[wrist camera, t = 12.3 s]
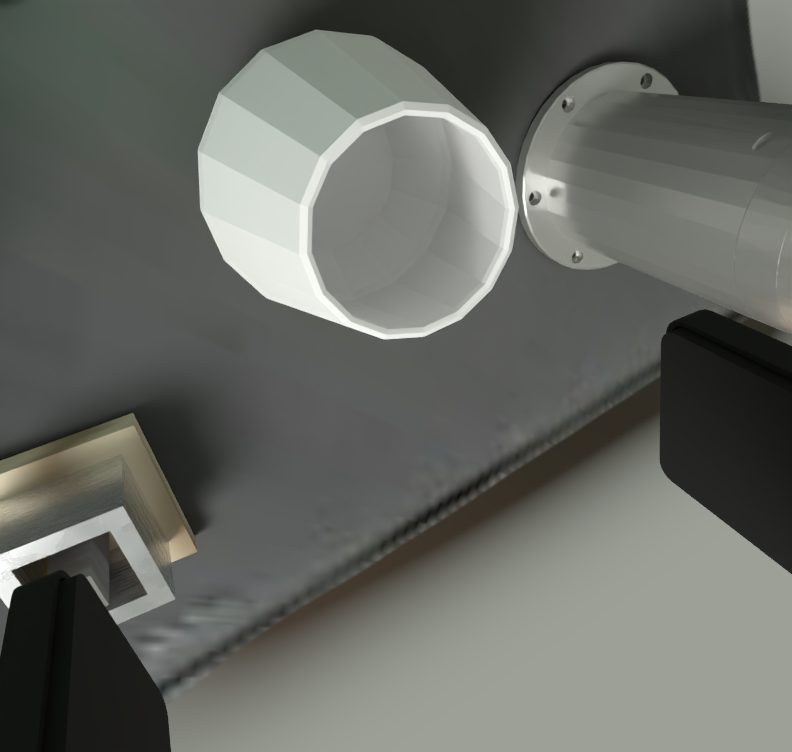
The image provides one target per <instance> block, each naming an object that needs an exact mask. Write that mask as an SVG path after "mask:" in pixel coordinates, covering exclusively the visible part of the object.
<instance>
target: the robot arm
mask: <svg viewBox="0 0 792 752" xmlns="http://www.w3.org/2000/svg"><path fill="white" fill-rule="evenodd" d="M562 103H563V104H562ZM515 186H516V195H517V200H518V205H519V209H518V212H519V216H520V220H521V223H522V225H523V227H524V229H525V231H526V233H527V236H528V237H529V238H530V240H531V241H532V242H533V244H534V245H535V246H536V248H537V249H538V250H540V251H541V252H542V253H543V254H544V255H546V256H547V257H548V258H550V259H552V260H554V261H556V262H558V263H560V264H562V265H564V266H567V267H570V268H573V269H584V270H593V269H599V268H605V267H608V266H610V265H613V264H616V263H618V262H620V263H623V264H625V265H627V266H630V267H632V268H634V269H637V270H639V271H641V272H644V273H646V274H649V275H651V276H653V277H656V278H658V279H660V280H663V281H665V282H667V283H670V284H672V285H675V286H677V287H679V288H682V289H684V290H686V291H689V292H691V293H693V294H696V295H698V296H701V297H703V298H705V299H708V300H710V301H712V302H715V303H717V304H719V305H722V306H724V307H727V308H729V309H731V310H734V311H736V312H738V313H741V314H743V315H746V316H748V317H750V318H753V319H755V320H758V321H760V322H763V323H765V324H768V325H770V326H773V327H775V328H777V329H780V330H782V331H785V332H788V333H791V334H792V105H789V104H777V103H765V102H753V101H741V100H729V99H718V98H706V97H694V96H682V95H679V93H678V91H677V90H676V89H675V87H674V86H673V85H672V84H671V82H670V81H669V80H668V79H667V78H666V77H665V76H664V75H662V74H661V73H659V72H658V71H657V70H655V69H654V68H651V67H648V66H646V65H643V64H641V63H632V62H606V63H602V64H599V65H595V66H592V67H589V68H587V69H585V70H583V71H581V72H579V73H578V74H576V75H574V76H572V77H571V78H570V79H569V80H567V81H566V82H565V83H564V84H562V85H561V86H560V87H559V88H558V89H556V91H555V92H554V93H553V94H552V95H551V96H550V98H549V99H548V100H547V101H546V102H545V103H544V104H543V106H542V107H541V109H540V111H539V112H538V114H537V115H536V117H535V119H534V120H533V122H532V123H531V126H530V128H529V130H528V133H527V135H526V137H525V140H524V142H523V145H522V149H521V153H520V156H519V160H518V164H517V174H516V184H515ZM529 196H530V197H529ZM660 396H661V397H660V398H661V399H660V464H661V467H662V469H663V471H664V473H665V474H666V476H667V477H668V478H669V479H670V480H671V481H672V482H673V483H675V484H676V485H677V486H679V487H680V488H681V489H683V490H684V491H685V492H686V493H688V494H689V495H690V496H691V497H693V498H694V499H696V500H697V501H698V502H699V503H700V504H702V505H703V506H704V507H706V508H707V509H708V510H710V511H711V512H712V513H713V514H715V515H716V516H717V517H719V518H720V519H721V520H723V521H724V522H725V523H726V524H728V525H729V526H730V527H731V528H733V529H734V530H735V531H737V532H738V533H739V534H741V535H742V536H743V537H745V538H746V539H747V540H748V541H750V542H751V543H752V544H753V545H755V546H756V547H758V548H759V549H760V550H761V551H763V552H764V553H765V554H766V555H768V556H769V557H770V558H772V559H773V560H774V561H775V562H777V563H778V564H779V565H781V566H782V567H783V568H785V569H786V570H787V571H788V572H790V573H791V574H792V346H790V345H788V344H786V343H783V342H781V341H779V340H776V339H774V338H772V337H770V336H767V335H765V334H763V333H761V332H758V331H756V330H754V329H751V328H749V327H747V326H744V325H742V324H740V323H738V322H735V321H733V320H731V319H729V318H726V317H724V316H722V315H720V314H717V313H715V312H713V311H710V310H706V309H705V310H699V311H697V312H694V313H692V314H689V315H687V316H684V317H682V318H679V319H677V320H675V321H673V322H671V323H670V324H669V326H668V328H667V331H666V334H665V335H664V336H663V338H662V341H661V395H660ZM0 752H171V747H170V735H169V725H168V715H167V710H166V706H165V702H164V699H163V697H162V694H161V693H160V691H159V689H158V687H157V686H156V684H155V683H154V681H153V680H152V678H151V677H150V675H149V673H148V672H147V670H146V669H145V667H144V666H143V664H142V663H141V661H140V660H139V658H138V656H137V655H136V653H135V652H134V650H133V649H132V647H131V646H130V644H129V643H128V641H127V639H126V638H125V636H124V635H123V633H122V632H121V630H120V629H119V627H118V626H117V624H116V623H115V621H114V619H113V618H112V616H111V615H110V613H109V612H108V610H107V609H106V607H105V606H104V604H103V602H102V601H101V599H100V598H99V596H98V595H97V593H96V592H95V590H94V589H93V587H92V585H91V584H90V582H89V581H88V579H87V578H86V577H85V576H84V575H83V574H77V575H75V576H72V577H70V576H69V575H68V574H67V573H66V572H65V571H63V570H58V571H55V572H53V573H50V574H48V575H46V576H43V577H41V578H38V579H36V580H33V581H31V582H28V583H26V584H23V585H21V586H18V587H17V588H15V589H14V590H13V593H12V596H11V601H10V607H9V612H8V618H7V623H6V629H5V634H4V640H3V645H2V650H1V656H0Z"/></svg>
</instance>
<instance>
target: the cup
mask: <svg viewBox="0 0 792 752" xmlns="http://www.w3.org/2000/svg"><path fill="white" fill-rule="evenodd" d="M198 167H199V189H200V210H201V212H202V214H203V216H204V218H205V220H206V222H207V225H208V227H209V229H210V231H211V233H212V235H213V237H214V240H215V242H216V244H217V246H218V248H219V250H220V252H221V254H222V257H223V259H224V260H225V261H226V262H227V263H228V264H229V265H230V266H231V267H232V268H233V269H235V270H236V271H237V272H238V273H239V274H240V275H241V276H242V277H243V278H244V279H246V280H247V281H248V282H249V283H250V284H251V285H252V286H253V287H254V288H255V289H257V290H258V291H259V292H260V293H261V294H262V295H263V296H265V297H266V298H268V299H270V300H273V301H276V302H279V303H282V304H285V305H288V306H290V307H293V308H296V309H299V310H302V311H305V312H307V313H310V314H313V315H316V316H319V317H322V318H324V319H327V320H330V321H333V322H336V323H339V324H342V325H344V326H347V327H350V328H353V329H356V330H359V331H362V332H364V333H367V334H370V335H373V336H376V337H379V338H381V339H397V338H412V337H424V336H426V335H429V334H431V333H433V332H435V331H437V330H439V329H441V328H443V327H446V326H448V325H450V324H452V323H454V322H456V321H458V320H460V319H462V318H463V317H464V316H465V315H466V314H467V313H468V312H469V311H470V310H471V309H472V308H473V307H474V306H475V305H476V304H477V303H478V302H479V301H480V300H481V299H482V298H483V297H484V296H485V295H486V294H487V293H488V292H489V291H491V290H492V288H493V286H494V284H495V282H496V280H497V278H498V276H499V274H500V272H501V270H502V269H503V267H504V265H505V263H506V261H507V259H508V257H509V255H510V253H511V251H512V247H513V240H514V234H515V228H516V221H517V215H518V209H519V205H518V200H517V195H516V190H515V184H514V179H513V174H512V169H511V164H510V162H509V161H508V159H507V158H506V156H505V154H504V153H503V151H502V150H501V148H500V147H499V145H498V144H497V142H496V141H495V139H494V138H493V136H492V135H491V133H490V132H489V130H488V129H487V127H486V126H485V125H484V124H483V123H482V122H480V121H479V120H478V119H477V118H476V117H475V116H474V115H473V114H472V113H471V112H470V111H469V110H468V109H467V108H466V107H465V106H464V105H463V104H462V103H461V102H460V101H458V100H457V99H456V98H455V97H454V96H453V95H452V94H451V93H450V92H449V91H448V90H447V89H446V88H445V87H444V86H443V85H442V84H441V83H440V82H439V81H438V80H436V79H435V78H434V77H433V76H432V75H431V74H430V73H429V72H428V71H427V70H426V69H425V68H424V67H423V66H421V65H419V64H418V63H416V62H415V61H413V60H411V59H410V58H408V57H407V56H405V55H403V54H402V53H400V52H399V51H397V50H395V49H394V48H392V47H390V46H389V45H387V44H386V43H384V42H382V41H381V40H379V39H378V38H376V37H373V36H369V35H360V34H351V33H342V32H333V31H324V30H314V31H311V32H308V33H305V34H303V35H300V36H297V37H295V38H292V39H289V40H286V41H284V42H281V43H278V44H275V45H273V46H270V47H267V48H264V49H262V50H260V51H259V52H258V53H257V54H256V56H255V57H254V58H253V59H252V60H251V61H250V62H249V63H248V64H247V65H246V66H245V67H244V68H243V69H242V70H241V71H240V72H239V73H238V74H237V75H236V76H235V77H234V78H233V79H232V80H231V81H230V82H229V83H228V84H227V85H226V86H225V87H224V88H223V89H222V90H221V91H220V92H219V94H218V97H217V99H216V102H215V105H214V108H213V110H212V113H211V116H210V118H209V121H208V124H207V126H206V129H205V132H204V135H203V137H202V140H201V143H200V145H199V148H198Z"/></svg>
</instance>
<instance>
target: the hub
mask: <svg viewBox="0 0 792 752" xmlns="http://www.w3.org/2000/svg"><path fill="white" fill-rule="evenodd" d="M109 531H111V533H112V535H113V536H114V538H115V540H116V541H117V543H118V545H119V547H117V548H115V549H112V550H110V551H109V605H107V606H105V607H106V609H107V610H108V612H109V613H110V615H111V616H112V618H113V619H114V621H115V623H116V624H119V623H122V622H124V621H126V620H129V619H131V618H133V617H136V616H138V615H140V614H142V613H145V612H147V611H149V610H152V609H154V608H156V607H159V606H161V605H163V604H165V603H168V602H170V601H172V600H175V590H174V581H173V573H172V564H171V556H170V547H169V541H168V539H167V537H166V536H165V534H164V532H163V530H162V528H161V526H160V524H159V523H158V521H157V519H156V517H155V515H154V513H153V511H152V509H151V508H150V506H149V504H148V502H147V500H146V498H145V496H144V495H143V493H142V491H141V489H140V487H139V485H138V483H137V481H136V480H135V478H134V476H133V474H132V472H131V470H130V468H129V467H128V465H127V463H126V461H125V459H124V457H123V455H122V454H120V455H118V456H115V457H112V458H110V459H107V460H104V461H102V462H99V463H96V464H94V465H91V466H88V467H86V468H83V469H80V470H78V471H75V472H73V473H70V474H67V475H65V476H62V477H59V478H57V479H54V480H51V481H49V482H46V483H43V484H41V485H38V486H35V487H33V488H30V489H28V490H25V491H22V492H20V493H17V494H14V495H12V496H9V497H6V498H4V499H1V500H0V598H1V599H2V600H3V602H4V603H5V604H6V605H7V607H8V608H9V607H10V601H11V596H12V593H13V590H14V589H15V588H17V587H18V586H21V585H23V584H26V583H28V582H31V581H33V580H36V579H38V578H41V577H43V571H44V563H45V557H46V556H49V555H51V554H54V553H56V552H59V551H61V550H64V549H66V548H69V547H71V546H74V545H76V544H79V543H81V542H84V541H86V540H89V539H91V538H94V537H96V536H99V535H101V534H104V533H106V532H109Z"/></svg>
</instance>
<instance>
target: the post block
mask: <svg viewBox="0 0 792 752" xmlns="http://www.w3.org/2000/svg"><path fill="white" fill-rule="evenodd" d="M120 454H122V455H123V457H124V459H125V461H126V463H127V465H128V467H129V468H130V470H131V472H132V474H133V476H134V478H135V480H136V481H137V483H138V485H139V487H140V489H141V491H142V493H143V495H144V496H145V498H146V500H147V502H148V504H149V506H150V508H151V509H152V511H153V513H154V515H155V517H156V519H157V521H158V523H159V524H160V526H161V528H162V530H163V532H164V534H165V536H166V537H167V539H168V541H169V547H170V556H171V562H173V561H176V560H178V559H181V558H183V557H185V556H188V555H190V554H193V553H195V552H197V546H196V541H195V536H194V534H193V532H192V530H191V528H190V526H189V524H188V522H187V520H186V518H185V516H184V514H183V512H182V510H181V508H180V506H179V504H178V502H177V500H176V498H175V496H174V494H173V492H172V490H171V488H170V486H169V484H168V482H167V480H166V478H165V476H164V474H163V472H162V470H161V468H160V466H159V464H158V462H157V460H156V458H155V456H154V454H153V452H152V450H151V448H150V446H149V444H148V442H147V440H146V438H145V436H144V434H143V432H142V430H141V428H140V426H139V424H138V422H137V420H136V418H135V416H134V414H133V413H131V414H128V415H125V416H122V417H120V418H117V419H114V420H111V421H109V422H106V423H103V424H100V425H98V426H95V427H92V428H89V429H86V430H84V431H81V432H78V433H75V434H73V435H70V436H67V437H64V438H62V439H59V440H56V441H53V442H51V443H48V444H45V445H42V446H40V447H37V448H34V449H31V450H28V451H26V452H23V453H20V454H17V455H15V456H12V457H9V458H6V459H4V460H1V461H0V500H1V499H4V498H6V497H9V496H12V495H14V494H17V493H20V492H22V491H25V490H28V489H30V488H33V487H35V486H38V485H41V484H43V483H46V482H49V481H51V480H54V479H57V478H59V477H62V476H65V475H67V474H70V473H73V472H75V471H78V470H80V469H83V468H86V467H88V466H91V465H94V464H96V463H99V462H102V461H104V460H107V459H110V458H112V457H115V456H118V455H120ZM117 547H119V545H118V543H117V541H116V540H115V538H114V536H113V535H112V533H111V531H109V532H106V533H104V534H101V535H99V536H96V537H94V538H91V539H89V540H86V541H84V542H81V543H79V544H76V545H74V546H71V547H69V548H66V549H64V550H61V551H59V552H56V553H54V554H51V555H49V556H46V557H45V563H44V571H43V576H46V575H48V574H50V573H53V572H55V571H58V570H63V571H65V572H66V573H67V574H68V575H69V576H70V577H72V576H75V575H77V574H83V575H84V576H85V577H86V578H87V579H88V581H89V582H90V584H91V585H92V587H93V589H94V590H95V592H96V593H97V595H98V596H99V598H100V599H101V601H102V602H103V604H104V606H107V605H109V551H110V550H112V549H115V548H117Z"/></svg>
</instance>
